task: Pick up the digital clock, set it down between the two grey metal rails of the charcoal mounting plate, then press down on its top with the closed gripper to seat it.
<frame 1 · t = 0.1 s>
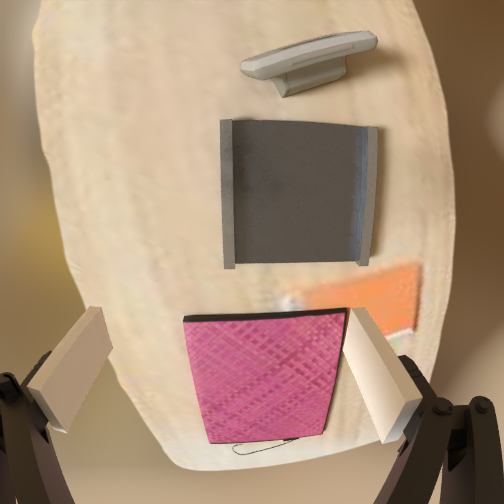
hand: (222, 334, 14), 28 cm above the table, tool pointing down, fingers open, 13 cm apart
laptop bag: (265, 392, 53), on the table
digital clock: (297, 63, 33), on the table
rail plate: (298, 193, 39), on the table
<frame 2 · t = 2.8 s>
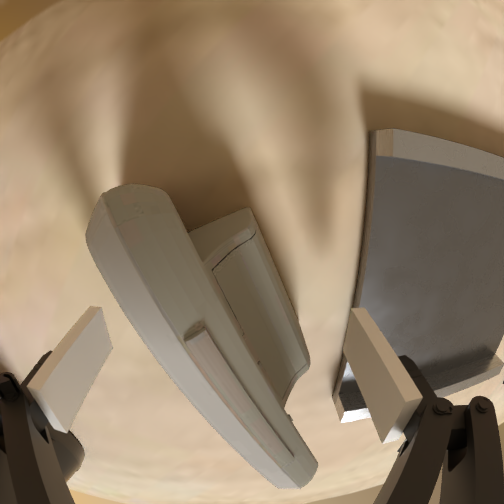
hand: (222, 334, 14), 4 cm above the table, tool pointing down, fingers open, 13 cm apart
digital clock: (216, 292, 18), on the table
rail plate: (459, 283, 19), on the table
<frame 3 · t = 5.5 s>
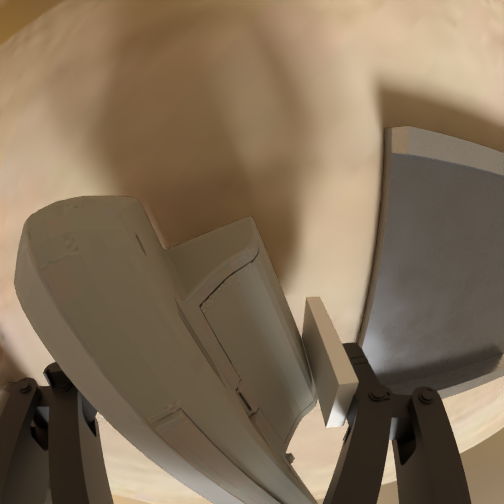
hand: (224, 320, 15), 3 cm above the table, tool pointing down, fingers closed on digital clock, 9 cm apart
digital clock: (211, 313, 16), point 3 cm above the table, touching gripper
rail plate: (470, 282, 18), on the table
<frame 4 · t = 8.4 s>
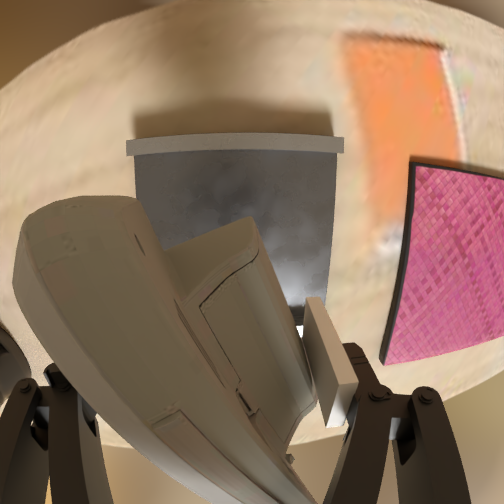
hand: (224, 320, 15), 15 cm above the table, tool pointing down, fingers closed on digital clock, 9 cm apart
laptop bag: (491, 264, 33), on the table
digital clock: (211, 313, 16), point 15 cm above the table, touching gripper
rail plate: (235, 237, 30), on the table
when the fingers open (2 cm above the table, at t = 11.8 s): digital clock stays where it is, resting on rail plate.
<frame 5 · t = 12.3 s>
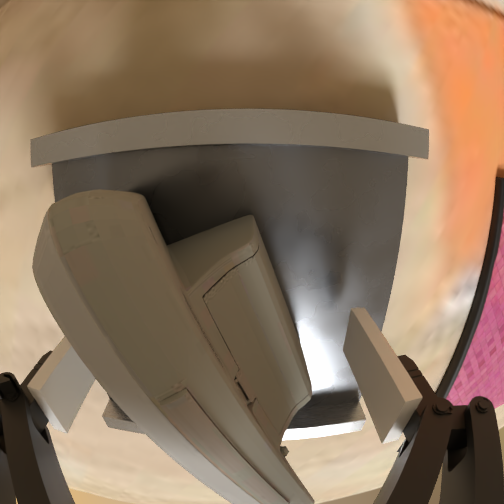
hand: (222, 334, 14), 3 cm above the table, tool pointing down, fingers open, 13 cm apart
digital clock: (210, 308, 16), point 1 cm above the table, touching rail plate
rail plate: (226, 302, 17), on the table
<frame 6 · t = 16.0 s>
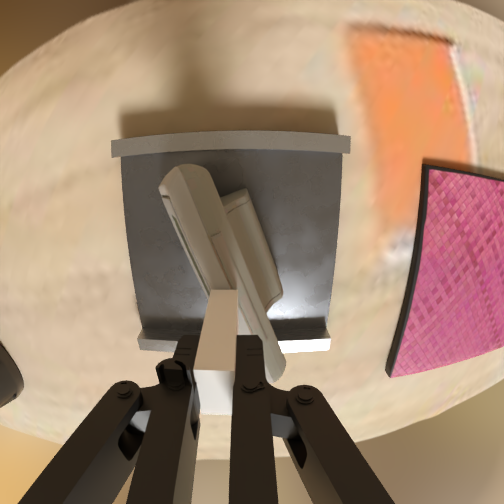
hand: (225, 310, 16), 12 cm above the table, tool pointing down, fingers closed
laptop bag: (500, 271, 31), on the table
digital clock: (220, 247, 27), point 1 cm above the table, touching gripper, rail plate
rail plate: (231, 246, 27), on the table
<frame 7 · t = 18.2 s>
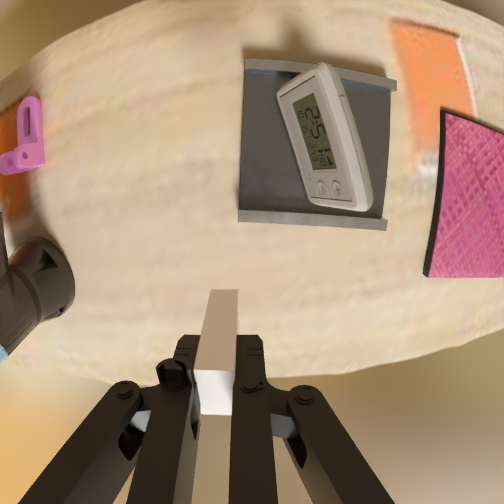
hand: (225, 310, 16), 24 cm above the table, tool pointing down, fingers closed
digital clock: (312, 142, 35), point 1 cm above the table, touching rail plate
bracket: (32, 131, 34), on the table
rail plate: (318, 144, 35), on the table
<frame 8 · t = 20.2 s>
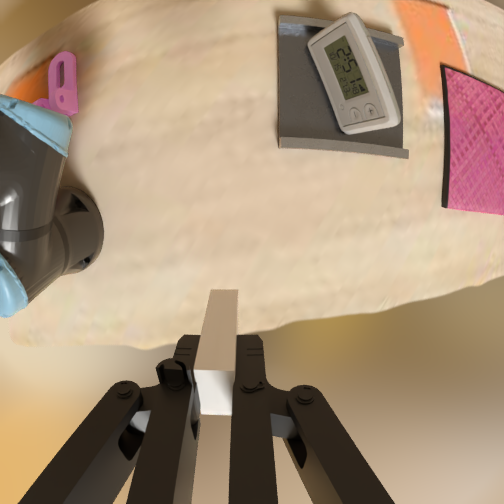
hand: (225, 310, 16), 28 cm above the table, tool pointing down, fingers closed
laptop bag: (503, 152, 40), on the table
digital clock: (339, 83, 36), point 1 cm above the table, touching rail plate
bracket: (65, 84, 35), on the table
rail plate: (343, 86, 37), on the table
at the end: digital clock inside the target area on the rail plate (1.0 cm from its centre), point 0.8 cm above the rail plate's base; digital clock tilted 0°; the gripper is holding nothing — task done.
